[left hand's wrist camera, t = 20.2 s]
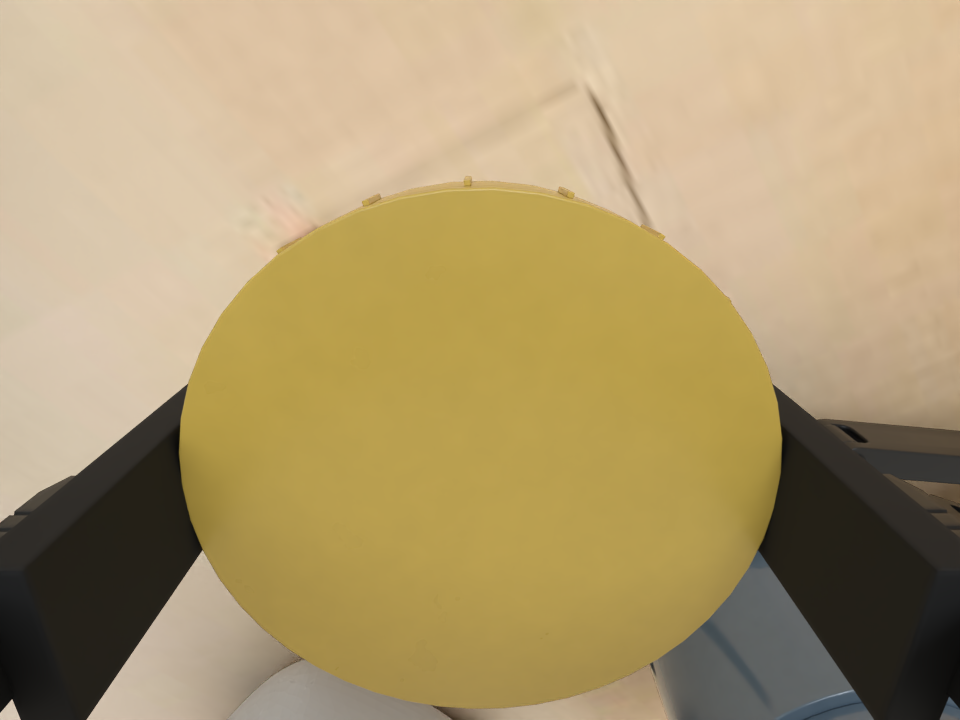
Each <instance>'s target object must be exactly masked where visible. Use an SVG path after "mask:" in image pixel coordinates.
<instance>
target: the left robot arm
mask: <svg viewBox="0 0 960 720" xmlns="http://www.w3.org/2000/svg"><path fill="white" fill-rule="evenodd" d="M772 385H773V384H772ZM187 387H188V384H187V385H186V386H185V387H184V388H182V389H181V390H180V391H179V392H178V393H176V394H175V395H174V396H173V397H171V398H170V399H169V400H168V401H167V402H165V403H164V404H163V405H162V406H160V407H159V408H158V409H157V410H156V411H154V412H153V413H152V414H151V415H149V416H148V417H147V418H146V419H145V420H143V421H142V422H141V423H140V424H138V425H137V426H136V427H135V428H134V429H132V430H131V431H130V432H129V433H128V434H126V435H125V436H124V437H123V438H121V439H120V440H119V441H118V442H117V443H115V444H114V445H113V446H112V447H110V448H109V449H108V450H107V451H106V452H104V453H103V454H102V455H101V456H99V457H98V458H97V459H96V460H95V461H93V462H92V463H91V464H90V465H88V466H87V467H86V468H85V469H84V470H82V471H81V472H80V473H79V474H78V475H76V476H70V477H68V478H66V479H64V480H62V481H60V482H58V483H56V484H54V485H52V486H50V487H48V488H46V489H44V490H42V491H40V492H39V493H37V494H36V495H35V496H34V497H32V498H31V499H30V500H29V501H27V502H26V503H25V504H23V505H22V506H21V507H20V508H18V509H17V510H16V511H15V513H14V515H9V516H8V517H7V518H6V519H4V520H3V521H2V522H1V523H0V712H1V711H2V710H3V709H4V708H5V707H6V705H7V704H8V703H9V702H10V701H11V699H13V702H14V704H15V707H16V709H17V712H18V714H19V716H20V719H21V720H86V719H87V718H88V717H89V715H90V714H91V712H92V711H93V709H94V708H95V706H96V705H97V703H98V702H99V700H100V699H101V698H102V696H103V695H104V693H105V692H106V690H107V689H108V687H109V686H110V684H111V683H112V681H113V680H114V679H115V677H116V676H117V674H118V673H119V671H120V670H121V668H122V667H123V665H124V664H125V662H126V661H127V660H128V658H129V657H130V655H131V654H132V652H133V651H134V649H135V648H136V646H137V645H138V643H139V642H140V641H141V639H142V638H143V636H144V635H145V633H146V632H147V630H148V629H149V627H150V626H151V624H152V623H153V622H154V620H155V619H156V617H157V616H158V614H159V613H160V611H161V610H162V608H163V607H164V605H165V604H166V603H167V601H168V600H169V598H170V597H171V595H172V594H173V592H174V591H175V589H176V588H177V586H178V585H179V584H180V582H181V581H182V579H183V578H184V576H185V575H186V573H187V572H188V570H189V569H190V567H191V566H192V565H193V563H194V562H195V560H196V559H197V557H198V556H199V554H200V553H201V551H202V550H203V549H202V547H201V544H200V542H199V540H198V537H197V535H196V532H195V530H194V527H193V525H192V523H191V520H190V516H189V512H188V508H187V504H186V500H185V495H184V491H183V486H182V480H181V470H180V460H179V442H180V424H181V415H182V410H183V406H184V401H185V396H186V392H187ZM773 388H774V392H775V395H776V399H777V402H778V410H779V418H780V426H781V434H782V456H781V476H780V480H779V485H778V490H777V495H776V499H775V504H774V508H773V512H772V516H771V519H770V522H769V525H768V528H767V530H766V533H765V536H764V539H763V541H762V543H761V545H760V547H759V549H758V551H759V552H760V554H761V555H762V557H763V558H764V560H765V561H766V563H767V564H768V565H769V567H770V568H771V570H772V571H773V573H774V574H775V576H776V577H777V579H778V580H779V582H780V583H781V584H782V586H783V587H784V589H785V590H786V592H787V593H788V595H789V596H790V598H791V599H792V601H793V602H794V603H795V605H796V606H797V608H798V609H799V611H800V612H801V614H802V615H803V617H804V618H805V620H806V621H807V622H808V624H809V625H810V627H811V628H812V630H813V631H814V633H815V634H816V636H817V637H818V639H819V640H820V641H821V643H822V644H823V646H824V647H825V649H826V650H827V652H828V653H829V655H830V656H831V658H832V659H833V660H834V662H835V663H836V665H837V666H838V668H839V669H840V671H841V672H842V674H843V675H844V677H845V678H846V679H847V681H848V682H849V684H850V685H851V687H852V688H853V690H854V691H855V693H856V694H857V695H858V697H859V698H860V700H861V701H862V703H863V704H864V706H865V707H866V709H867V710H868V712H869V713H870V714H871V716H872V717H873V719H874V720H940V718H941V715H942V713H943V710H944V708H945V706H946V703H947V701H948V698H949V697H950V698H951V699H952V700H953V702H954V703H955V704H956V705H957V706H958V708H959V709H960V519H958V518H957V517H956V516H954V515H953V514H952V513H947V509H945V508H944V507H943V506H942V505H940V504H939V503H938V502H937V501H935V500H934V499H933V498H931V497H930V496H929V495H928V494H926V493H925V492H924V491H922V490H921V489H919V488H917V487H915V486H913V485H911V484H909V483H907V482H905V481H903V480H901V479H899V478H897V477H895V476H893V475H891V474H882V473H880V472H879V471H878V470H877V469H876V468H874V467H873V466H872V465H871V464H869V463H868V462H867V461H866V460H865V459H863V458H862V457H861V456H860V455H859V454H857V453H856V452H855V451H854V450H852V449H851V448H850V447H849V446H848V445H846V444H845V443H844V442H843V441H841V440H840V439H839V438H838V437H837V436H835V435H834V434H833V433H832V432H830V431H829V430H828V429H827V428H826V427H824V426H823V425H822V424H821V423H819V422H818V421H817V420H816V419H815V418H813V417H812V416H811V415H810V414H808V413H807V412H806V411H805V410H804V409H802V408H801V407H800V406H799V405H798V404H796V403H795V402H794V401H793V400H791V399H790V398H789V397H788V396H787V395H785V394H784V393H783V392H782V391H780V390H779V389H778V388H777V387H776V386H774V385H773Z"/></svg>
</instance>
